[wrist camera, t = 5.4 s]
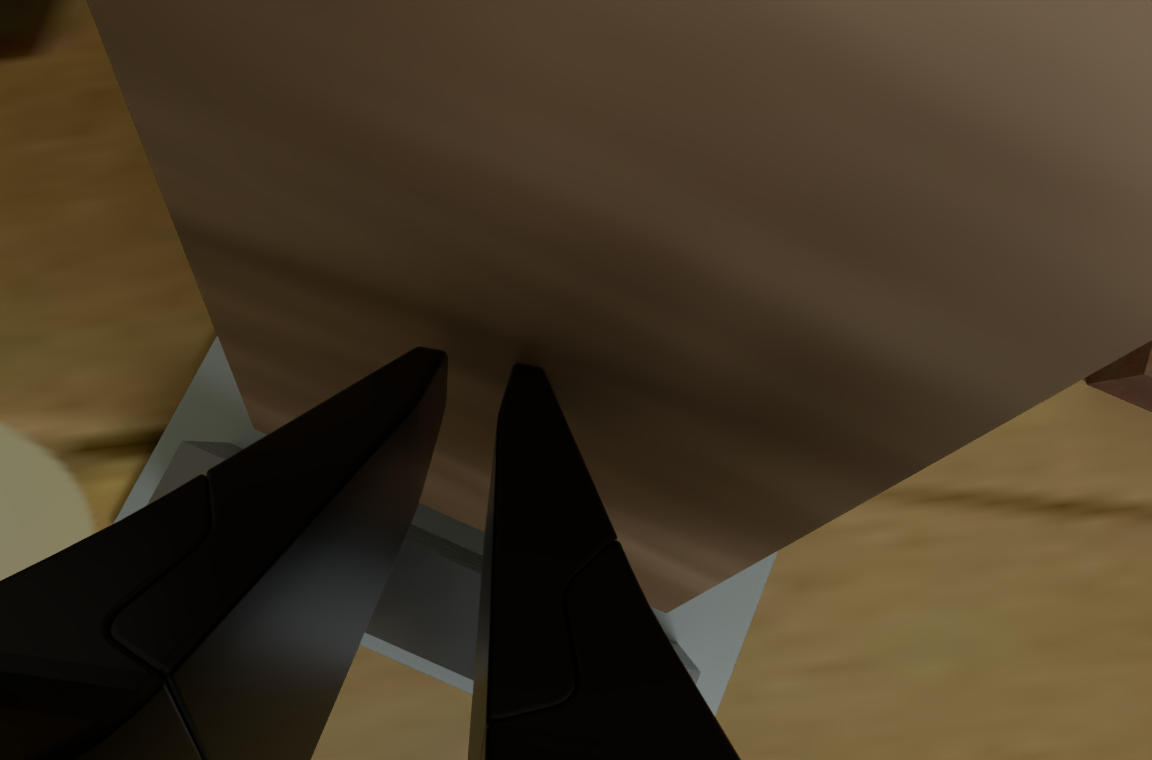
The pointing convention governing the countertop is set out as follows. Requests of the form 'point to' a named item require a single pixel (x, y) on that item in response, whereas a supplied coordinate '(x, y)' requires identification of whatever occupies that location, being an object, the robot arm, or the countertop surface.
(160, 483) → the base
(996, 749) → the countertop surface
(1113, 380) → the miniature gate
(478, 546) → the card
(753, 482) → the fence panel
